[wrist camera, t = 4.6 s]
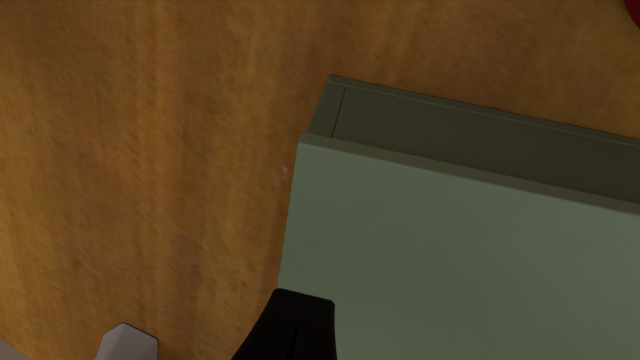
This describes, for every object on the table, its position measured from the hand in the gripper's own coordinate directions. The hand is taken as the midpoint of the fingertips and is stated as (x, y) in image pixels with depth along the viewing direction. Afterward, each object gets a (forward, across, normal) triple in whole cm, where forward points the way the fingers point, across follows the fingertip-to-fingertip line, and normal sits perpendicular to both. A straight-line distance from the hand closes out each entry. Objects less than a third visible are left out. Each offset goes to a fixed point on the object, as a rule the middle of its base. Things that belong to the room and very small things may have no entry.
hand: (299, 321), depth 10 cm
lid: (+4, -6, +4) cm, 9 cm away
